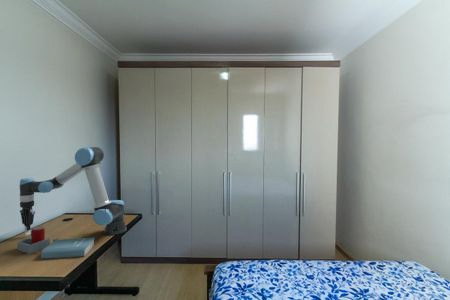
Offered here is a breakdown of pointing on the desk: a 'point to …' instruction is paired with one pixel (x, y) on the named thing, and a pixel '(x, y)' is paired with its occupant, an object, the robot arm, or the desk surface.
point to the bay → (33, 245)
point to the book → (68, 248)
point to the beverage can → (37, 234)
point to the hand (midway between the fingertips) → (27, 234)
